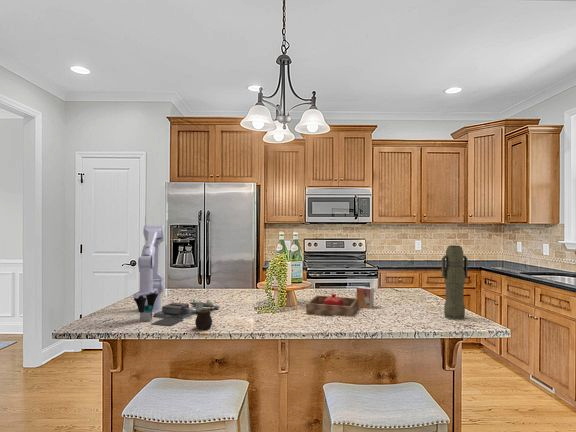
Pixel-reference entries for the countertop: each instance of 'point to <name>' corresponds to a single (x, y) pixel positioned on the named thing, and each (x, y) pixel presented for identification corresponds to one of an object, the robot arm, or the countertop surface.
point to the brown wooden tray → (332, 306)
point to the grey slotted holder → (176, 308)
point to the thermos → (454, 282)
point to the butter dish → (333, 301)
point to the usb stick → (146, 313)
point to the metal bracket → (202, 304)
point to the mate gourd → (203, 319)
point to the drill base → (175, 315)
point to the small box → (365, 297)
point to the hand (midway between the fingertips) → (146, 310)
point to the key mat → (167, 322)
